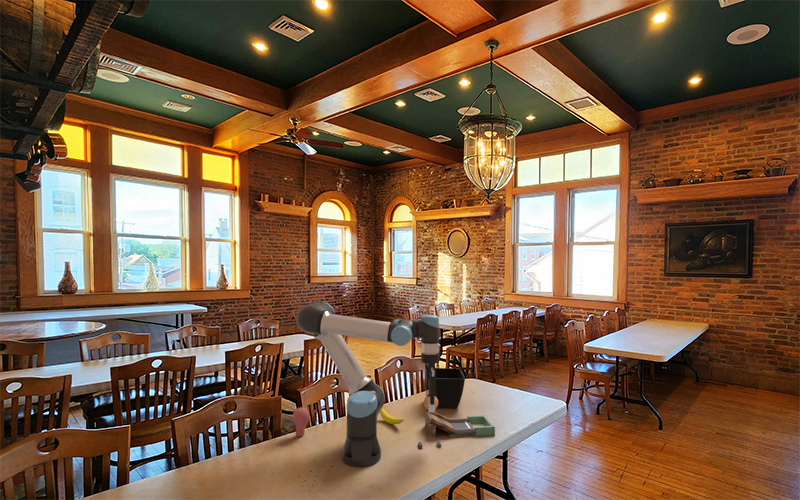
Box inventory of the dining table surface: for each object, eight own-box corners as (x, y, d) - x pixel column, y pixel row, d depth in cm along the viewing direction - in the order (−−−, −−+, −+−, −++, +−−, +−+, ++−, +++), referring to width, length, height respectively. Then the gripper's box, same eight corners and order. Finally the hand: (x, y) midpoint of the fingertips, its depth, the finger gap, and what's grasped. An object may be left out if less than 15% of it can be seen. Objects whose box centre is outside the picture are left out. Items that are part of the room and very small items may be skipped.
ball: (425, 412, 157) (424, 397, 157) (422, 407, 163) (422, 392, 163) (439, 412, 158) (439, 397, 158) (436, 406, 164) (436, 392, 164)
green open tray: (475, 435, 169) (475, 427, 169) (467, 423, 182) (467, 416, 182) (494, 435, 170) (494, 426, 170) (485, 422, 183) (485, 415, 183)
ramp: (429, 437, 167) (429, 418, 168) (424, 425, 179) (424, 408, 179) (456, 436, 169) (456, 417, 169) (450, 424, 181) (450, 407, 181)
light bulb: (312, 435, 168) (312, 407, 169) (298, 441, 163) (298, 412, 163) (303, 431, 173) (303, 403, 174) (289, 436, 168) (289, 408, 168)
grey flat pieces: (419, 448, 157) (419, 445, 157) (418, 445, 160) (418, 442, 160) (441, 447, 158) (441, 444, 158) (439, 444, 161) (439, 441, 161)
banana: (401, 431, 173) (401, 417, 173) (376, 418, 188) (376, 405, 188) (406, 429, 175) (406, 415, 175) (381, 416, 190) (381, 403, 190)
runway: (454, 436, 168) (454, 429, 169) (448, 424, 180) (448, 418, 180) (476, 435, 170) (476, 428, 170) (468, 424, 182) (468, 417, 182)
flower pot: (465, 411, 197) (465, 378, 198) (428, 411, 197) (428, 377, 198) (460, 398, 216) (460, 368, 217) (426, 398, 216) (426, 367, 217)
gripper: (443, 357, 152) (444, 417, 151) (435, 347, 171) (435, 400, 170) (424, 358, 151) (425, 418, 151) (418, 347, 170) (418, 401, 169)
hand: (430, 408), depth 160 cm, fingers closed on ball, 6 cm apart
